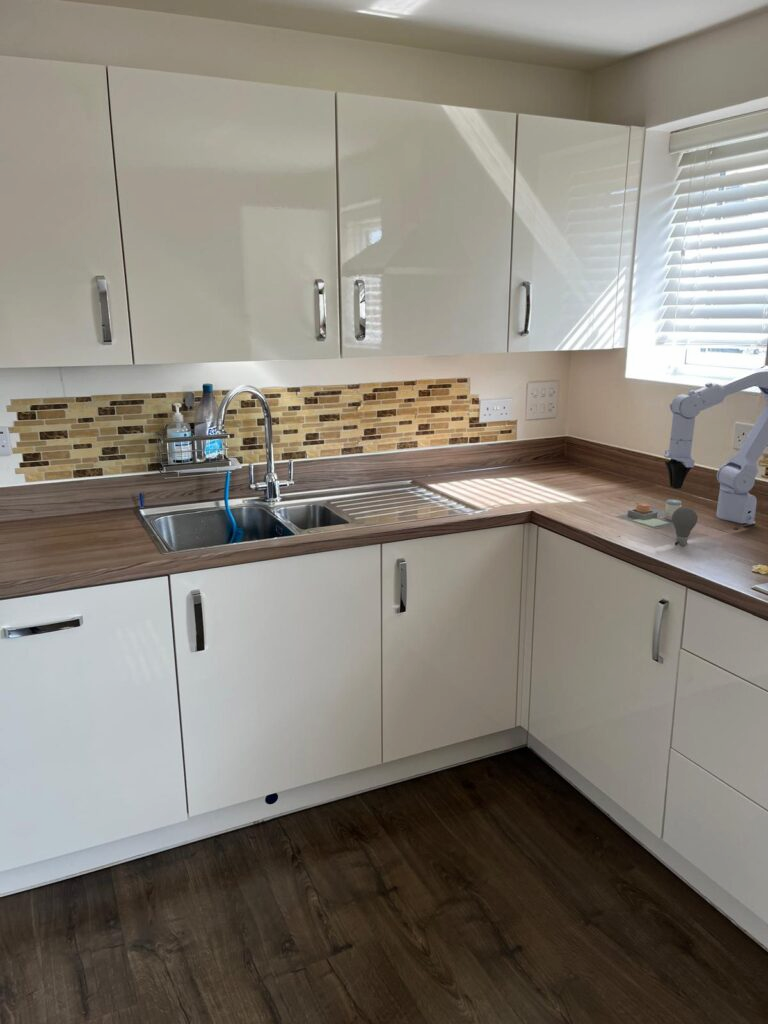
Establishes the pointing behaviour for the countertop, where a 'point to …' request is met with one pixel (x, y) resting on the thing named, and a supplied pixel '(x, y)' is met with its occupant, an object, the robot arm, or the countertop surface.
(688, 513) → the light bulb
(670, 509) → the cartridge
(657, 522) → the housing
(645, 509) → the orange round piece
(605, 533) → the countertop surface
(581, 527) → the countertop surface
